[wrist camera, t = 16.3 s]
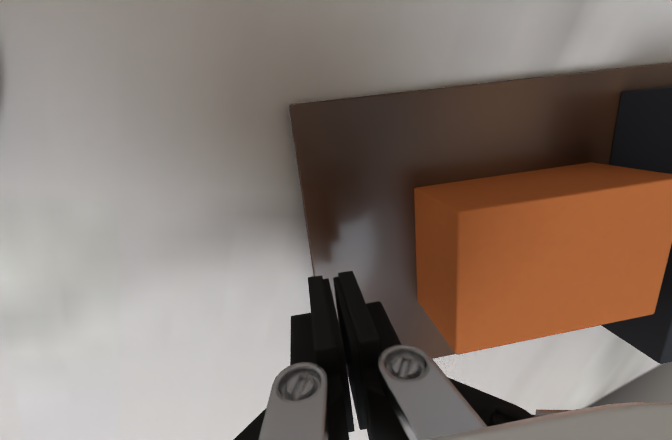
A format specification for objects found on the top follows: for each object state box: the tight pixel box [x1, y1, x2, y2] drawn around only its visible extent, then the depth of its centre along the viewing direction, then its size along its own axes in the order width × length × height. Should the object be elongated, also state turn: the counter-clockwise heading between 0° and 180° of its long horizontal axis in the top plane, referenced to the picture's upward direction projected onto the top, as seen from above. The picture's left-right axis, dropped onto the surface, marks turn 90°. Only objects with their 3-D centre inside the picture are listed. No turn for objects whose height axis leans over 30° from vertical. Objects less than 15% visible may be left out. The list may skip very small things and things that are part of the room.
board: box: [289, 63, 672, 374], centre depth 16 cm, size 24×14×1 cm, turn 96°
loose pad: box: [414, 162, 672, 354], centre depth 14 cm, size 9×6×4 cm, turn 96°
